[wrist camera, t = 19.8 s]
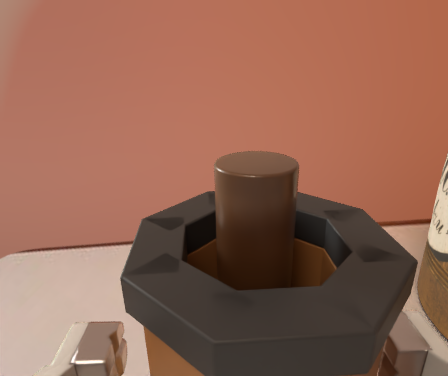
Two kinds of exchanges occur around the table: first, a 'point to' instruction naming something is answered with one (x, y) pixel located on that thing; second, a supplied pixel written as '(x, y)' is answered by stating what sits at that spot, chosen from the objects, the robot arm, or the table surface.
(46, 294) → the table surface
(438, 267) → the wooden container
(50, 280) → the table surface
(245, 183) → the stand
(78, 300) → the table surface
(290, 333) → the orange-brown octagonal tube
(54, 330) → the table surface
